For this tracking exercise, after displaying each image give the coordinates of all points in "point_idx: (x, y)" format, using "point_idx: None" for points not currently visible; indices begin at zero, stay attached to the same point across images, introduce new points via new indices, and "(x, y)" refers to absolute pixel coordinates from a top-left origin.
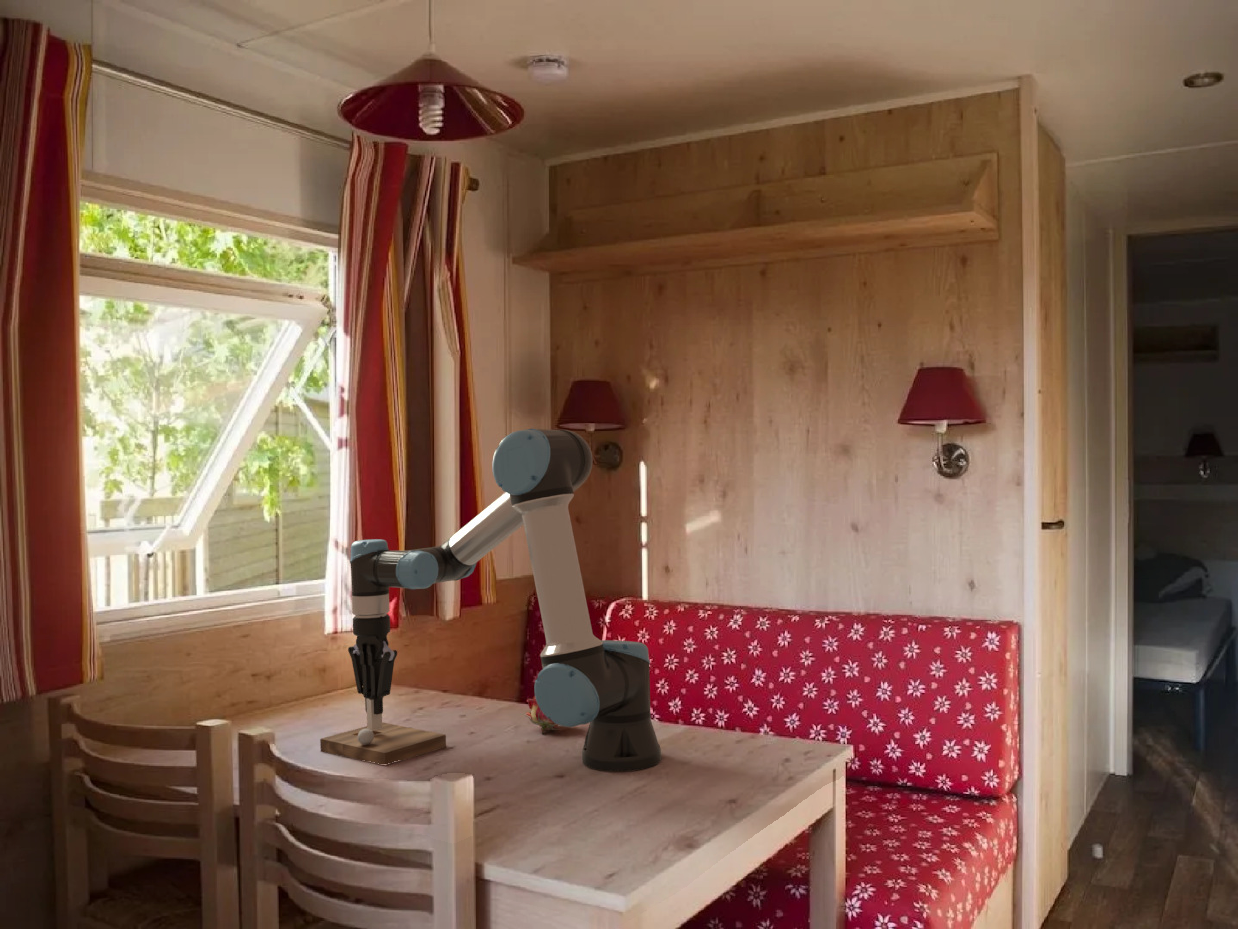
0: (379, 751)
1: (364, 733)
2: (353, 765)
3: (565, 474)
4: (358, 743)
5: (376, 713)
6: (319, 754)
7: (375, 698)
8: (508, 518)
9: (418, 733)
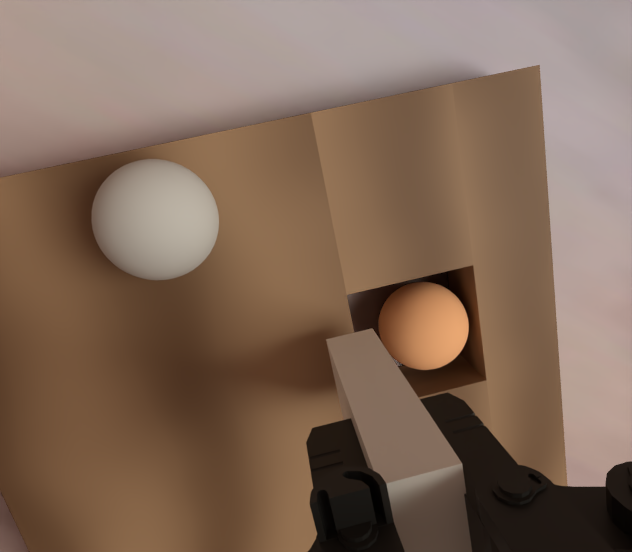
0: None
1: (104, 195)
2: (72, 68)
3: None
4: (236, 192)
5: (320, 431)
6: (444, 40)
7: (328, 530)
8: None
9: (196, 539)
